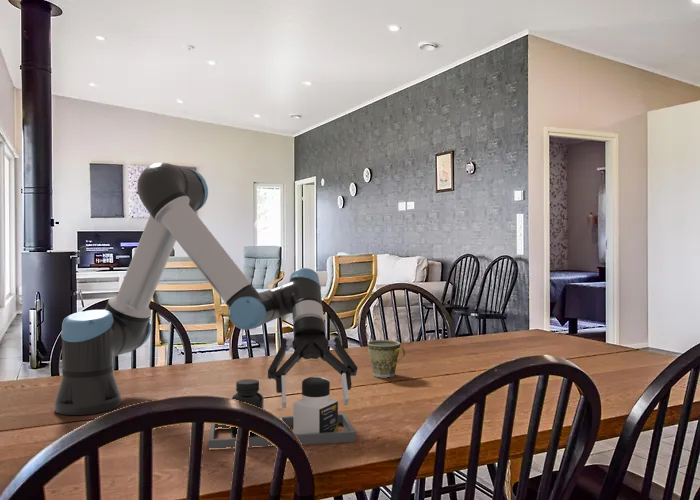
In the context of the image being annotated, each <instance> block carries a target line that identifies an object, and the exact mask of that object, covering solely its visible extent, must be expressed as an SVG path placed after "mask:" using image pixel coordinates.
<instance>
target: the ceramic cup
mask: <svg viewBox="0 0 700 500" xmlns="http://www.w3.org/2000/svg"><path fill="white" fill-rule="evenodd" d="M367 350H368V354H369V358H370V363H371V370H372V375H373V377H374V376H375V377H376V378H379V377H380V378H379V379H388V378H387V377H391V378H393V377H392V376H394V377H395V374H396V369H397V364H398V362H400V361H401V360H402V359H403V358H404V357H405V355H406V351H405V349H404V348H403V347H401V342H399V341H397V340H390V339H376V340H370V341H368V342H367ZM400 351H402V354H403V355H401V357H399V353H400ZM375 377H374V378H375Z"/></svg>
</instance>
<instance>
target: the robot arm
mask: <svg viewBox="0 0 700 500" xmlns="http://www.w3.org/2000/svg"><path fill="white" fill-rule="evenodd" d="M137 194H138V197H139V200H140V201H141V203H142V205H143V206H144V207H145V209H146V211H147V212H148V213H149V216H148V219H147V222H146V224H145V227H144V228H143V232H142V233H141V237H140V239H139V241H138V244H137V246H136V249H135V251H134V254H133V256H132V258H131V261H130V263H129V266H128V268H127V271H126V274H125V275H124V278H123V281H122V283H121V285H120V287H119V290H118V292H117V295H115V296H113V297H110V298H109V299H108V301H107V303H106V306H105V308H104V309H89V310H85V311H78V312H74V313H72V314H69V315H68V316H66V317H64V319H63V321H62V323H61V331H60V337H61V368H62V371H61V372H62V374H61V375H62V376H61V381H60V384H59V387H58V390H57V393H56V397H55V400H54V411H55V413H57V414H60V415H65V416H66V415H67V416H85V415H86V416H88V415H94V414H99V413H105V412H108V411H111V410H114V409H116V408H117V407H119V406H121V403H122V395H121V391H120V388H119V386H118V384H117V380H116V378H115V377H116V376H115V375H114V358H115V357H118V356H120V355H124V354H128V353H131V352H134V351H136V350H137V349H139V348H140V347H142V346H144V344H145V343H146V342H147V341H148V339H149V338H150V336H151V331H152V323H151V322H150V321H151V316H152V311H151V309H150V303H151V301H152V300H153V299H152V298H153V296H154V294H155V291H156V290H157V287H158V284H159V282H160V280H161V278H162V276H163V272H164V270H165V268H166V265H167V263H168V262H169V258H170V255H171V254H172V251H173V248H174V246H175V244H176V242H177V243H178V245H179V246H180V247H181V248H182V250H183V251H184V252H185V253H186V254H187V256H188V257H189V259H190V260H191V261H192V263H193V264H194V265H195V267H196V268H197V269H198V270H199V271H200V273H201V274H202V275H203V277H205V279H206V280H207V281H208V283H209V284H210V286H212V288H213V290H215V292H216V293H217V294H218V296H219V297H220V298H221V300H223V302H224V303H225V305H226V306H227V307H228V308H229V311H228V313H229V319H230V322H231V323H232V324H233V326H234V327H235V328H238V329H240V330H242V331H244V330H245V331H247V330H254V329H257V328H260V327H261V326H262V325H264V324H266V323H269V322H272V321H274V320H276V319H280V318H282V317H285V316H287V315H290V314H292V324H293V325H292V327H293V328H292V329H293V340H287V339H286V338H285V337H283V338H282V339H281V341H280V346H279V349H278V350H277V353H276V355H275V357H274V358H273V360H272V363H270V365H269V368H268V370H267V379H269V380H274V381H275V389H276V390H275V391H276V393H277V394H281V409H286V407H287V391H286V390H287V389H286V375H287V374H288V372H289V371H291V369H292V368H293V367H294V366H295V365H296V363H298V362H299V361H300V360H301V359H304V360H310V359H314V360H317V359H319V358H320V359H321V360H322V361H324V362H326V363H327V364H328V365H329V366H331V368H333V369H334V370H335V371H336V372H337V373H339V374H340V375H341V379H340V384H341V390H342V391H341V392H342V399H343V406H348V404H349V400H350V396H349V391H351V389H352V376H354V377H355V376H357V372H358V370H359V369H358V366H357V365H356V363H355V362H354V360H353V359H352V357H350V355H349V353H348V352H347V351H346V349H345V348H344V347H343V345H342V343H341V339H340V337H338V336H336V337H334V339H329V340H328V338H327V336H326V327H325V319H324V318H325V317H324V311H323V303H322V301H323V300H322V286H321V283H320V277H319V275H318V273H317V272H316V271H315V270H313V269H312V268H306V267H302V268H298V269H296V270H294V271H293V272H292V273H291V275H290V277H289V281H288V282H286V283H285V284H282V285H279V286H277V287H274V288H271V289H268V290H265V291H262V292H258V290H256V288H255V287H254V286H253V284H252V283H251V281H249V279H248V278H247V277H246V276H245V274H244V273H243V271H242V270H241V269H240V268H239V266H238V265H237V264H236V263H235V261H234V260H233V259H232V258H231V257H230V255H229V253H227V251H226V250H225V248H224V247H223V246H222V245H221V243H220V242H219V241H218V240H217V238H216V237H215V236H214V235H213V234H212V232H211V231H210V229H209V228H208V227H207V225H205V224H204V222H203V221H202V219H201V218H200V217H199V215H198V214H197V213H196V212H198V211H199V210H200V209H201V208H204V206H205V204H206V202H207V201H208V196H209V187H208V184H207V181H206V179H205V178H204V177H203V175H202V174H200V173H199V172H198V171H197V170H195V169H192V168H190V167H187V166H184V165H175V164H171V163H168V162H156V163H153V164H150V165H149V166H147V167H146V168H144V170H142V172H141V173H140V175H139V177H138V180H137ZM328 347H330V348H331V349H332V350H333V351H334V352H335V354H336V355H337V357H336V356H335V355H334V354H333V353H332V352H331V350H330V349H329V348H328ZM290 348H292V349H293V350H294V351H293V353H292V354H291V356H289V358H288V359H286V361H285V362H283V364H282V365H281V362H282V361H283V359H284V357H285V356H286V352H288V351H289V350H290ZM280 365H281V366H280ZM279 366H280V367H279Z"/></svg>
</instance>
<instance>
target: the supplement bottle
mask: <svg viewBox="0 0 700 500" xmlns="http://www.w3.org/2000/svg"><path fill="white" fill-rule="evenodd" d="M235 386H236V387H235V391H236V392H235V393H234V394H233V396H232V397H231V399H236V400H239V401H242V402H246V403H249V404H252V405H255V406H257V407H260V408H262V409H264V396H263V395H262V393H260V392H259V391H260V382H259V380H258V379H252V378H247V379H246V378H243V379H239V380H237V381H236V384H235ZM237 429H238V428H236V427H231V429H230V438H236V434H237ZM249 437H258V435H256V434H254V433H252V432H250V436H249Z"/></svg>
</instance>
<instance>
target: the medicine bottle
mask: <svg viewBox="0 0 700 500" xmlns="http://www.w3.org/2000/svg"><path fill="white" fill-rule="evenodd" d="M330 385H331V383H330V380H329V379H327V378H325V377H322V376H310V377H307V378H304V379H303V380H302V382H301V397H302V399H299V400H297V401H294V402H293V414H292V416H293V426H292V428H293V430H292V431H294V433H295V434H309V433H327V432H339V423H338V414H339V399H335V398H331V392H330V391H331V388H330V387H331V386H330ZM294 433H293V434H294Z"/></svg>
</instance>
